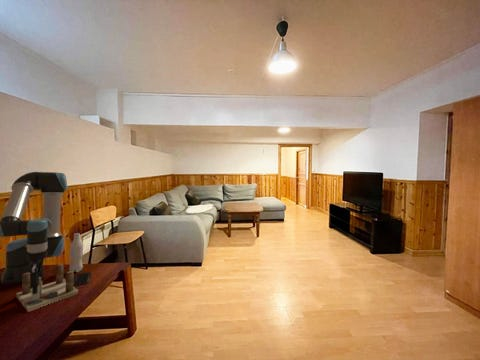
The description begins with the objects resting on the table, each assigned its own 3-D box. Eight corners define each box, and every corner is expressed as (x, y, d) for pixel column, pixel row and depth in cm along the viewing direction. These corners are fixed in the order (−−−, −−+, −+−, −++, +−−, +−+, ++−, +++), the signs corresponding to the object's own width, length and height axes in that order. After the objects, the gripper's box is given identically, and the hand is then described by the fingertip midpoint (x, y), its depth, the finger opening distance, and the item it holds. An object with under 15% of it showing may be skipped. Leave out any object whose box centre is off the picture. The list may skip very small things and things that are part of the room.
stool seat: (16, 297, 114) (17, 274, 113) (63, 282, 130) (64, 262, 130) (28, 312, 103) (28, 286, 102) (78, 293, 119) (78, 272, 119)
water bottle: (79, 268, 150) (80, 231, 149) (84, 270, 146) (85, 233, 145) (66, 271, 144) (68, 233, 143) (72, 274, 140) (73, 235, 139)
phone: (91, 272, 143) (88, 282, 130) (91, 273, 143) (88, 284, 130) (76, 274, 139) (72, 285, 126) (76, 276, 139) (72, 287, 126)
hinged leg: (34, 295, 112) (34, 276, 112) (58, 293, 115) (59, 275, 115) (30, 299, 108) (30, 280, 108) (55, 297, 111) (55, 278, 111)
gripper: (32, 246, 115) (32, 289, 116) (20, 258, 100) (20, 308, 101) (51, 244, 119) (50, 286, 120) (42, 256, 104) (42, 304, 105)
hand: (36, 296), depth 110 cm, fingers open, 4 cm apart
